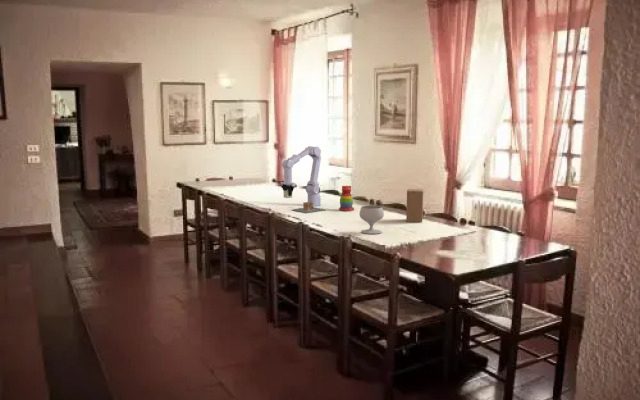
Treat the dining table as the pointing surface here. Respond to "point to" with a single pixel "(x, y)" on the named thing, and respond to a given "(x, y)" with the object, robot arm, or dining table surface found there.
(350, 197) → the stacking bear
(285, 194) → the sage block
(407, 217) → the wooden block
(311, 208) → the walnut block
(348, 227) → the dining table surface
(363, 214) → the chalice
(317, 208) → the blueprint board
